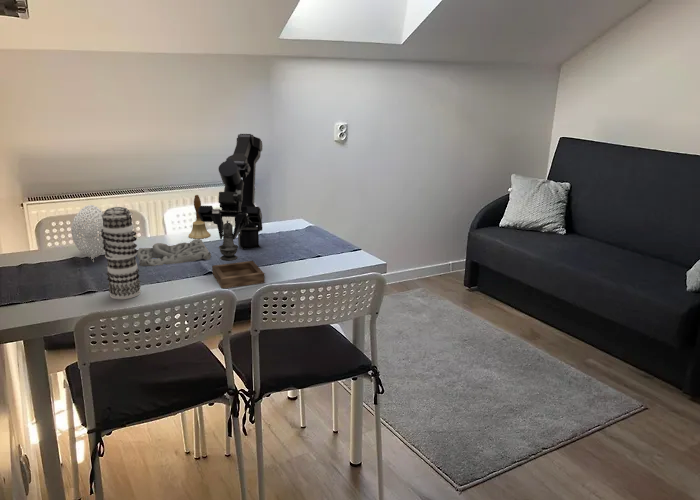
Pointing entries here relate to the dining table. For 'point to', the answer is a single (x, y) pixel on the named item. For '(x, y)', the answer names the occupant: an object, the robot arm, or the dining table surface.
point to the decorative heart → (88, 231)
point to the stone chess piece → (228, 244)
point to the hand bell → (198, 223)
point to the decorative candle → (120, 253)
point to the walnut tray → (238, 274)
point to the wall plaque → (173, 253)
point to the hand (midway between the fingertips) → (227, 238)
